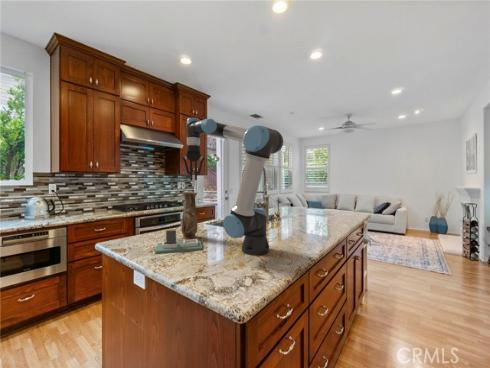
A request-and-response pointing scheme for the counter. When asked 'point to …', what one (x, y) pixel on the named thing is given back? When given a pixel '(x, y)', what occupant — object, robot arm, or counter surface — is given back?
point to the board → (179, 246)
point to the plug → (171, 236)
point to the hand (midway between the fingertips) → (193, 185)
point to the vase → (189, 216)
